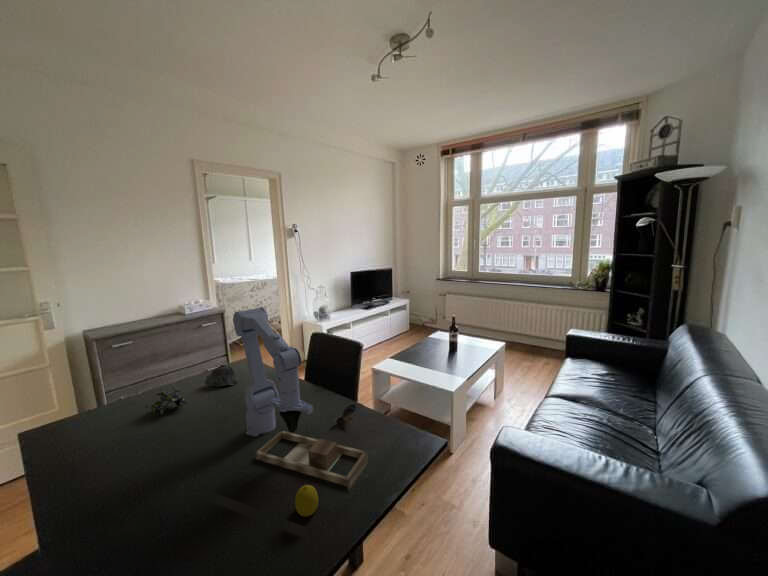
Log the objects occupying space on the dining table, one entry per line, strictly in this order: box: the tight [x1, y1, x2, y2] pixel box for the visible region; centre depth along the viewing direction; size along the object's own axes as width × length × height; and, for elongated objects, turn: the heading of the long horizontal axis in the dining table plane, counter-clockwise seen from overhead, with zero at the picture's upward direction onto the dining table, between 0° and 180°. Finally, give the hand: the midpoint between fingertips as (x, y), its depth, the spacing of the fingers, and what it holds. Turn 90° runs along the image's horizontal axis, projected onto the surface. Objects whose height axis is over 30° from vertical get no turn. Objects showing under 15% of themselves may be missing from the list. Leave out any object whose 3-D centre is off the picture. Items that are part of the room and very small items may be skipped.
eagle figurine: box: [333, 403, 357, 428], centre depth 117 cm, size 8×7×9 cm
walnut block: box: [308, 438, 338, 471], centre depth 96 cm, size 6×6×5 cm
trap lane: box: [254, 430, 369, 492], centre depth 98 cm, size 32×12×4 cm, turn 68°
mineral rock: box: [203, 364, 239, 387], centre depth 152 cm, size 13×11×10 cm
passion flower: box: [145, 387, 188, 416], centre depth 129 cm, size 11×11×12 cm
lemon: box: [294, 484, 319, 518], centre depth 79 cm, size 6×6×8 cm
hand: (293, 430), depth 99 cm, fingers closed
